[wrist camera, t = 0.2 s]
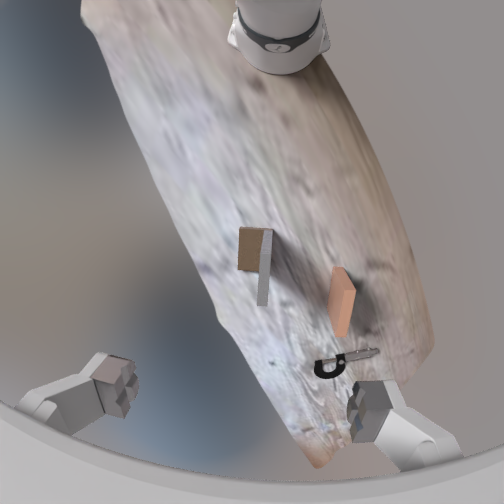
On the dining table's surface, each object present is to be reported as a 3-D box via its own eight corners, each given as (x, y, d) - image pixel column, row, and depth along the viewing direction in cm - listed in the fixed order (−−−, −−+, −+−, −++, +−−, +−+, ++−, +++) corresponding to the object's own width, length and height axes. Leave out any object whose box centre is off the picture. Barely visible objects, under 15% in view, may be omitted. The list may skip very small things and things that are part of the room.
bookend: (240, 226, 57) (227, 250, 42) (272, 228, 56) (271, 254, 42) (238, 267, 59) (226, 303, 44) (269, 269, 59) (267, 306, 44)
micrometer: (315, 379, 67) (316, 386, 64) (312, 357, 65) (313, 363, 62) (375, 367, 65) (378, 374, 62) (376, 344, 63) (379, 350, 60)
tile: (333, 266, 58) (344, 289, 47) (343, 267, 58) (356, 290, 47) (326, 307, 60) (335, 336, 50) (336, 308, 60) (346, 337, 50)
